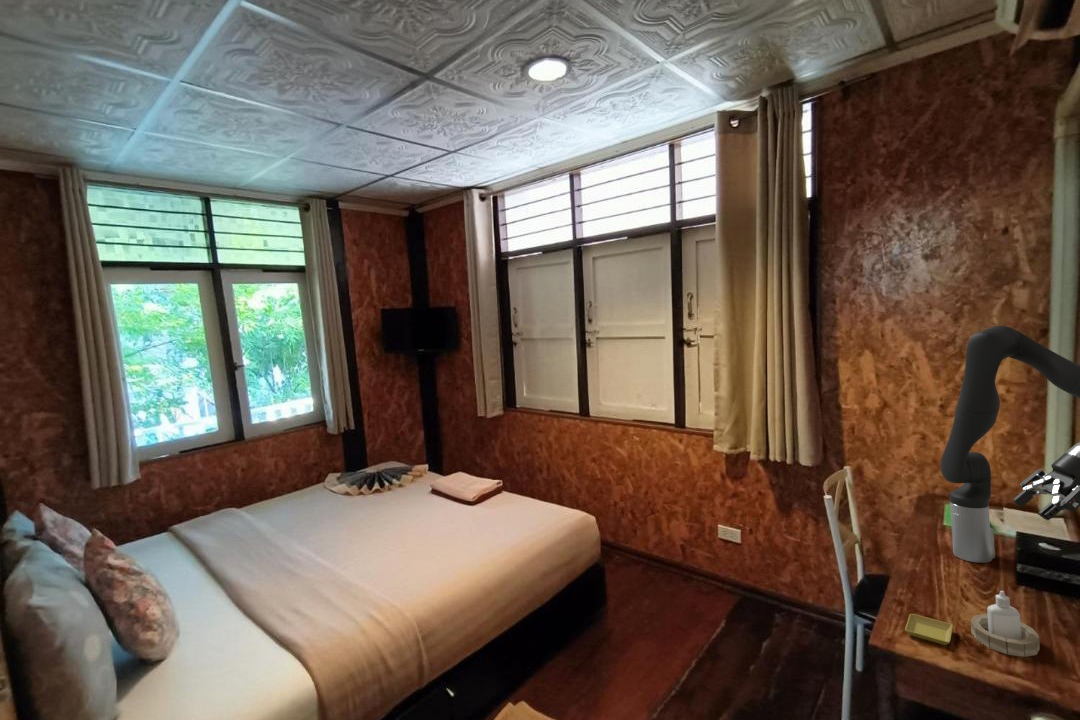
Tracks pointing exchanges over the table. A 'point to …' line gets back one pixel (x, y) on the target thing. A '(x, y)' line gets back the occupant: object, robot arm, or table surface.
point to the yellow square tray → (929, 629)
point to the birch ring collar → (1004, 645)
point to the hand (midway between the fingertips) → (1029, 510)
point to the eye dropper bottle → (1004, 618)
